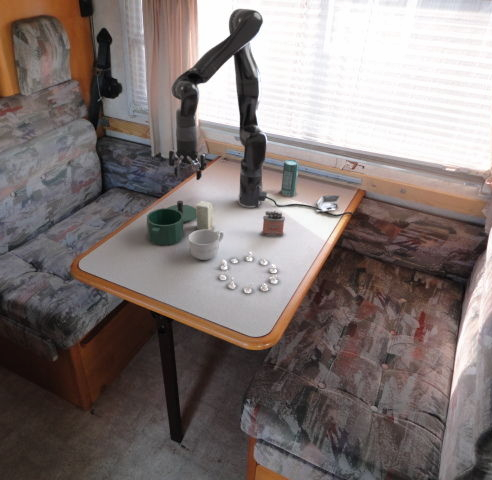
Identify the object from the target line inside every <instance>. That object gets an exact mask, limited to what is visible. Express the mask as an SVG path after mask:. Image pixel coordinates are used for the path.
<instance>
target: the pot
mask: <svg viewBox="0 0 492 480" xmlns="http://www.w3.org/2000/svg"><path fill="white" fill-rule="evenodd" d="M146 228H147V238H148V240H149V242H151V243H152V244H154V245H156V246H162V247H168V246H174V245H176V244H179V243H180V242H182V240H183V239H184V236H185V235H184V234H185V233H184V232H185V231H184V222H183V214H182V213H181V212H180V211H178V208H176V207H172V208H168V207H161V208H157V209H154V210H152V211H150V212H149V213H148V214H147V215H146Z"/></svg>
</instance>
